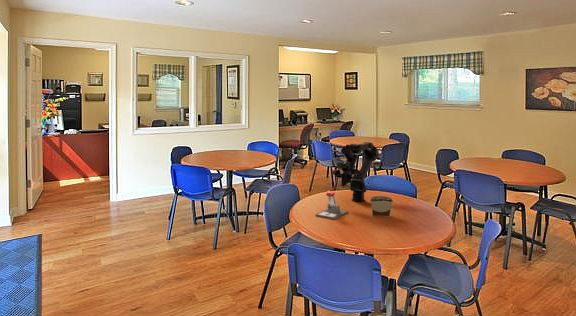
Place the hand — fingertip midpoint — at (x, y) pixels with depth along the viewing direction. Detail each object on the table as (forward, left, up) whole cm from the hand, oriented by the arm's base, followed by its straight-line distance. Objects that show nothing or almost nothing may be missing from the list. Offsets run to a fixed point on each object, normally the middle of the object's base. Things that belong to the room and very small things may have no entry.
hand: (342, 186), depth 246 cm
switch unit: (+12, +7, -13) cm, 19 cm away
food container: (-11, +20, -13) cm, 27 cm away
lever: (+10, +6, -10) cm, 15 cm away
